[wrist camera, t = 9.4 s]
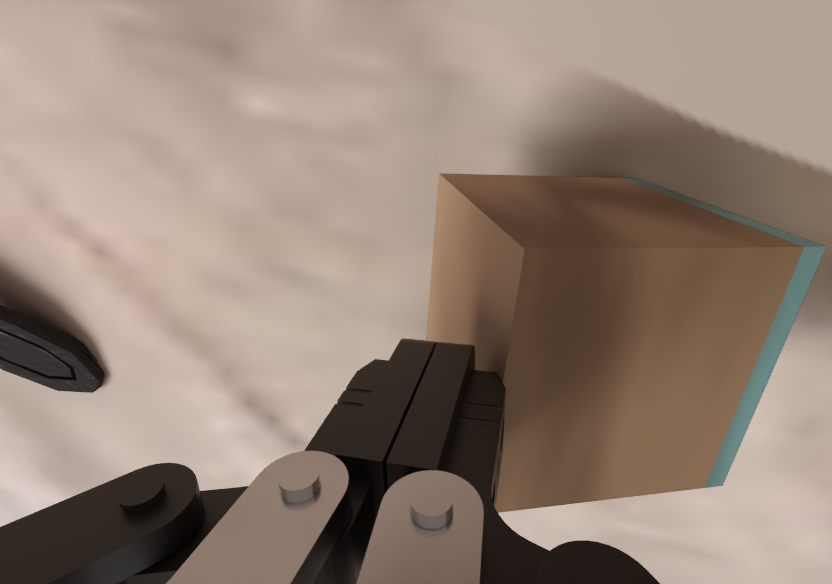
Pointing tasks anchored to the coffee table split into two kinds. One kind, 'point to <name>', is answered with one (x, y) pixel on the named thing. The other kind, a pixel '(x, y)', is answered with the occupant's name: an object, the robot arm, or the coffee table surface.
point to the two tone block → (612, 327)
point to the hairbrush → (45, 354)
